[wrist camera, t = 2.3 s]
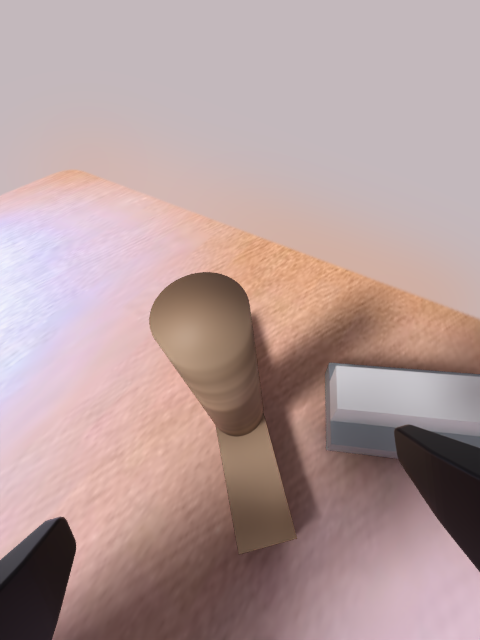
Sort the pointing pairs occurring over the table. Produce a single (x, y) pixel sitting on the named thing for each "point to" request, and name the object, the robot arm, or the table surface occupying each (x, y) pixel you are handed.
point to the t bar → (227, 396)
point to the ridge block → (397, 406)
